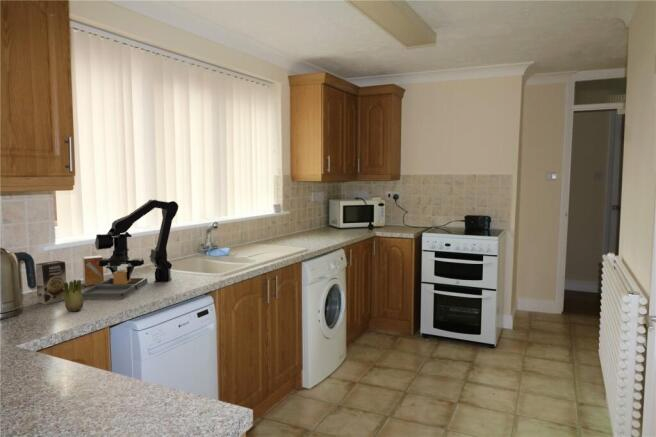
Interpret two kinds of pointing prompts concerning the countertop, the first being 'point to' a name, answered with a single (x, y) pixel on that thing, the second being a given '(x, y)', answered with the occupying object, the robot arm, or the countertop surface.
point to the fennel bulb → (73, 296)
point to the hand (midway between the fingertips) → (122, 280)
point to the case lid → (108, 292)
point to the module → (121, 277)
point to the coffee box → (50, 281)
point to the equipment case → (138, 281)
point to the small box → (92, 270)
